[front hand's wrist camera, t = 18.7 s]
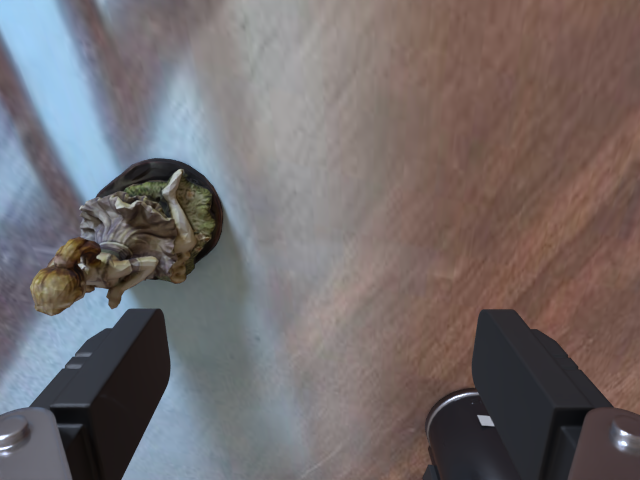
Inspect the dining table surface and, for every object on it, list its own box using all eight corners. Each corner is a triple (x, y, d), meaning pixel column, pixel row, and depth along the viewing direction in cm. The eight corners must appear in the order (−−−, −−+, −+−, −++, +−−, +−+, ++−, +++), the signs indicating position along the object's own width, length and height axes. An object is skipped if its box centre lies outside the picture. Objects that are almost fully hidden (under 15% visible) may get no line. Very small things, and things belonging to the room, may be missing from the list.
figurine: (115, 287, 42) (11, 395, 28) (71, 174, 38) (-75, 233, 24) (238, 265, 41) (195, 365, 27) (205, 148, 37) (136, 193, 23)
